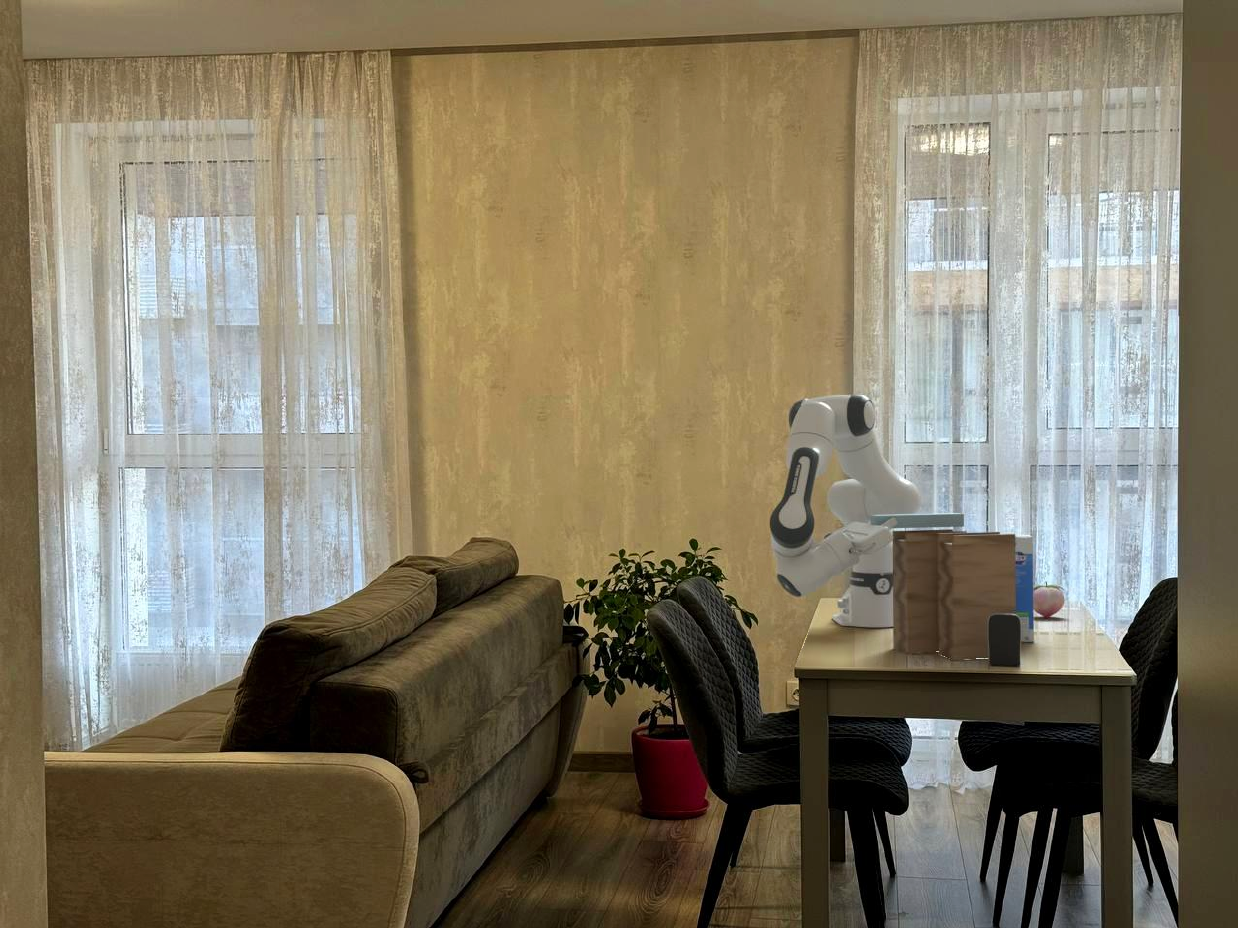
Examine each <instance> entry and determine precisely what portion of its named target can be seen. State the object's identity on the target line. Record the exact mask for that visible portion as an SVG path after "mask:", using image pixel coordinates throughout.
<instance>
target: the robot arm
mask: <svg viewBox="0 0 1238 928" xmlns="http://www.w3.org/2000/svg"><path fill="white" fill-rule="evenodd" d="M872 401H873V400H871V399H870V398H868V397H867V396H866V395H864V394H857V393H853V394H832V395H831V394H829V395H825V396H818V397H814V398H804V399H800V400H798V401H796V402H794V403H793V404H792V406H791V407H790V409H789V413H788V425H789V428H790V429H789V430H790V431H789V434H788V437H787V443H786V453H785V465H786V468H787V470H788V475H787V480H786V484H785V488H784V492H783V495H782V498H781V500H780V501H779V503H778V504H777V505H776V507H775V508H774V509H773V511H772V512H771V515H770V517H769V518H770V519H769V528H770V529H769V531H770V546H771V551H772V552H773V555H774V558H775V562H776V563H775V564H776V572H777V573H776V578H777V580H778V583H780V585H781V587H782V589H784V590H785V591H786V592H787V593H789V594H790V595H791V596H793V597H797V598H800V597H805V596H808V595H809V594H811V593H813V592H815V591H816V590H819V589H820V588H822V587H824V586H825V585H827V584H828V583H829V582H831V580H832V579H833V578H835V577H836V576H837V577H838V576H841V575H843V574H844V573H845V572H847V571H849V570H850V569H851V568H852V571H851V572H850V578H849V579H850V580H849V584H850V586H849V587H848V588H847V590H846V591H845V593H844V594H843V595H842V597H841V598H840V599H837V608H838V609H840V613H837V614H832V615H831V618H832V620H834V621H835V622H836V623H837V624H838V625H840V626H842V627H844V626H845V627H860V628H893V539H894V538H893V533H892V532H891V530H892V529H893V528H892V527H894V526H895V525H897V521H896V519H895V518H889V519H888V520H886V522H885V523H884V524H881V525H880V526H879V525H872V524H870V515H893V514H918V511H919V510H920V506H921V500H922V499H921V494H920V491H919V489H918V487H917V486H916V485H915V483H914V482H911V481H909V480H907V479H906V478H904V477H902V476H901V475H900V474H898V473H897V472H896V470H894V469H893V468H892V466H891V465H889V463H888V461H887V460H886V458H885V457H884V455H883V453H882V451H881V448H880V445H879V442H878V439H877V435H876V432H875V430H874V426H875V423H876V411H875V407H874V403H873V402H872ZM833 450H835V454H836V457H837V460H838V463H839V466H840V468H841V470H842V471H843V473H844V474H845V475H846V476H847V477H850V478H851V479H850V478H849V479H843V480H840V481H839V480H838V481H836V482H833V483H832V485H831V486H830V488H829V490H828V493H827V497H826V498H827V505H828V509H829V510H830V512H831V513H832V514H833V515H834V516H835V517H836V518H837V519H838V520H840V522H841V523H842V525H843V526H842V527H840V528H838V529H837V530H835V531H834V532H828V533H826V534H825V535H823V536H822V540H821V541H819V542H817V541H816V540H815V539H814V537H813V536H814V535H813V533H814V528H815V518H814V512H813V510H812V506H811V502H812V496H813V492H814V487H815V481H816V478H819V477H821V476H822V475H825V474H826V471H827V469H828V467H829V465H830V462H831V459H832V456H833Z"/></svg>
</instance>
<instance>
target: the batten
mask: <svg viewBox="0 0 1238 928" xmlns="http://www.w3.org/2000/svg"><path fill="white" fill-rule="evenodd" d="M889 518H895V519H896V521H897V525H895V526H894V527H892V528H891V529H914V528H915V529H920V528H923V529H925V528H928V529H929V528H963V527H965V513H958V512H951V513H950V512H949V513H947V512H945V513H943V512H942V513H941V512H940V513H916V514H893V515H870V524H872V525H879V526H880V525H881V524H884V523H885V522H886V520H888V519H889Z"/></svg>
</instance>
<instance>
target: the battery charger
mask: <svg viewBox="0 0 1238 928" xmlns="http://www.w3.org/2000/svg"><path fill="white" fill-rule="evenodd" d="M1021 646H1022V642H1021V621H1020V618H1019V617H1018V616H1017V615H1016V614H1012V613H993V614H991V615H990V616H989V618H988V647H989V659H988V665H990V666H994V665H996V666H997V667H1020V666H1021V663H1022V662H1021V651H1022V649H1021V648H1022V647H1021ZM996 666H995V667H996Z"/></svg>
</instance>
